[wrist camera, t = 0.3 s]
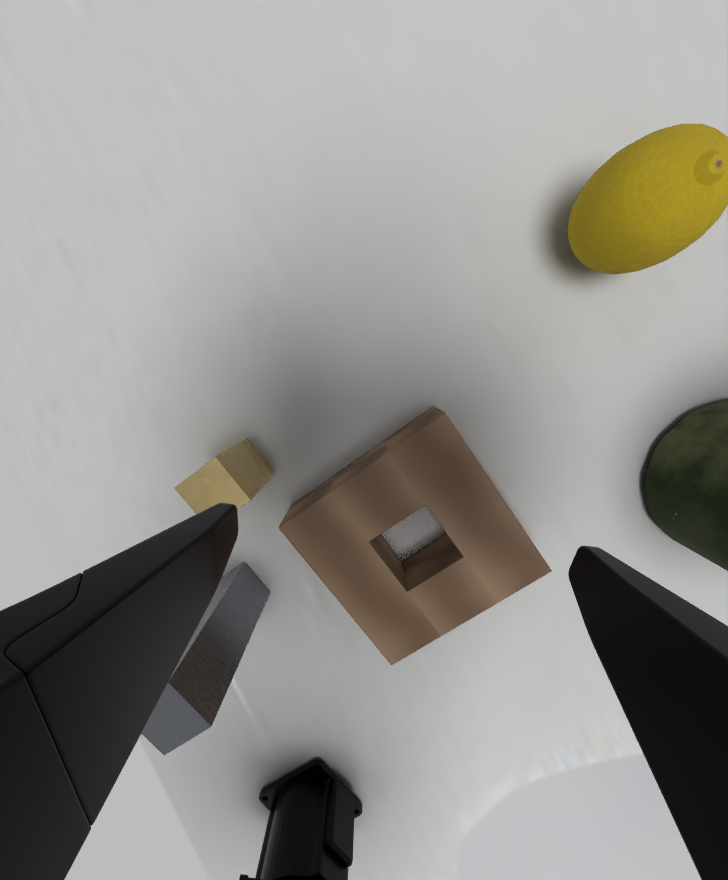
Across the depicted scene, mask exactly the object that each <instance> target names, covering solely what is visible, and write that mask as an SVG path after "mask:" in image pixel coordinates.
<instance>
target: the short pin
mask: <svg viewBox="0 0 728 880" xmlns="http://www.w3.org/2000/svg"><path fill="white" fill-rule="evenodd" d="M273 475H274V472H273V471H272V470H271V468H270V467H269V466H268V465H267V463H266V462H265V461H264V460H263V458H262V457H261V456H260V455H259V453H258V452H257V451H256V450H255V448H254V447H253V446H252V445H251V443H250V442H249V441H248V440H247V439H246V440H244V441H242V442H241V443H239V444H237V445H236V446H234V447H232V448H230V449H229V450H227V451H225V452H224V453H222V454H220V455H218V456H217V457H215V458H214V459H212V460H211V461H210V462H208V463H207V464H206V465H204V466H203V467H202V468H200V469H199V470H198V471H196V472H195V473H194V474H192V475H191V476H190V477H188V478H187V479H186V480H184V481H183V482H182V483H180V484H179V485H178V486H176V487H175V489H176V491H177V492H178V493H179V494H180V495H181V496H182V498H183V499H184V500H185V501H186V502H187V503H188V505H189V506H190V507H191V508H192V509H193V510H194V512H195V513H196V514H198V513H200V512H202V511H204V510H206V509H208V508H210V507H212V506H214V505H216V504H218V503H228V504H234V505H236V507H237V510H238V509H239V508H240V507H242V506H243V505H245V504H246V503H247V502H249V501H250V500H251V499H252V498H253V497H254V496H255V495H256V494H257V493H258V491H259V490H260V489H261V488H262V487H263V486H264V485H265V484H266V482H267V481H268V480H269V479H270V478H271V477H272V476H273Z"/></svg>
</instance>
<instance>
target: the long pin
mask: <svg viewBox="0 0 728 880" xmlns="http://www.w3.org/2000/svg"><path fill="white" fill-rule="evenodd" d="M269 594H270V591H269V589H268V588H267V587H266V586H265V585H264V584H263V582H262V581H261V580H260V579H259V578H258V577H257V576H256V574H255V573H254V572H253V571H252V570H251V569H250V567H249V566H248V565H247V564H246V563H245V562H244V563H242V564H241V565H239V566H238V567H236V568H235V569H233V570H232V571H231V572H229V573H228V574H226V575H225V576H223V577H222V578H221V580H220V582H219V585H218V587H217V590H216V592H215V594H214V596H213V598H212V600H211V602H210V604H209V606H208V608H207V610H206V611H205V613H204V615H203V617H202V619H201V621H200V623H199V625H198V627H197V628H196V630H195V632H194V634H193V636H192V638H191V640H190V642H189V644H188V646H187V647H186V649H185V651H184V653H183V655H182V657H181V659H180V661H179V663H178V664H177V666H176V668H175V670H174V672H173V674H172V676H171V678H170V680H169V682H168V683H167V685H166V687H165V689H164V691H163V693H162V695H161V697H160V699H159V700H158V702H157V704H156V706H155V708H154V710H153V712H152V714H151V716H150V718H149V719H148V721H147V723H146V725H145V727H144V729H143V731H142V733H141V734H142V735H144V736H145V737H146V738H147V739H148V740H149V741H150V742H151V743H152V744H153V745H154V746H155V747H156V748H157V749H158V750H159V751H160V752H161V753H162V754H163V755H165V754H167V753H169V752H170V751H172V750H174V749H175V748H177V747H178V746H180V745H182V744H183V743H185V742H187V741H188V740H190V739H192V738H193V737H195V736H197V735H198V734H200V733H201V732H203V731H205V730H206V729H208V728H210V727H211V726H212V724H213V721H214V719H215V717H216V715H217V712H218V710H219V708H220V705H221V703H222V701H223V699H224V696H225V694H226V692H227V690H228V687H229V685H230V683H231V680H232V678H233V676H234V674H235V671H236V669H237V667H238V664H239V662H240V660H241V658H242V655H243V653H244V651H245V648H246V646H247V644H248V642H249V639H250V637H251V635H252V632H253V630H254V628H255V626H256V623H257V621H258V619H259V617H260V614H261V612H262V610H263V607H264V605H265V603H266V601H267V598H268V596H269Z"/></svg>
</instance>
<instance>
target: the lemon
mask: <svg viewBox="0 0 728 880" xmlns="http://www.w3.org/2000/svg"><path fill="white" fill-rule="evenodd" d="M727 205H728V137H727V136H726V135H724V134H723V133H722V132H720V131H719V130H717V129H715V128H712V127H709V126H706V125H703V124H680V125H675V126H672V127H668V128H664V129H661V130H658V131H655V132H653V133H651V134H648V135H646V136H644V137H643V138H641V139H639V140H637V141H635V142H634V143H632V144H630V145H628V146H626V147H625V148H623V149H622V150H620V151H619V152H617V153H616V154H615V155H613V156H612V157H611V158H610V159H609V160H608V161H607V162H606V163H605V164H604V165H602V166H601V167H600V168H599V169H598V170H597V171H596V172H595V173H594V174H593V175H592V176H591V178H590V179H589V180H588V182H587V183H586V185H585V186H584V187H583V189H582V190H581V192H580V193H579V195H578V197H577V199H576V201H575V203H574V206H573V208H572V210H571V213H570V218H569V223H568V239H569V243H570V246H571V250H572V251H573V253H574V255H575V256H576V258H577V259H578V260H579V261H580V262H581V263H583V264H584V265H585V266H586V267H588V268H590V269H592V270H595V271H597V272H602V273H608V274H620V273H629V272H635V271H639V270H642V269H645V268H648V267H651V266H653V265H656V264H658V263H661V262H663V261H665V260H667V259H669V258H671V257H672V256H674V255H676V254H677V253H679V252H680V251H682V250H683V249H685V248H686V247H688V246H689V245H691V244H692V243H694V242H695V241H696V240H698V239H699V238H700V237H701V236H702V235H703V234H704V233H705V232H706V231H707V230H708V229H709V228H710V227H711V226H712V225H713V224H714V223H715V222H716V221H717V220H718V219H719V217H720V216H721V214H722V213H723V211H724V210H725V208H726V207H727Z"/></svg>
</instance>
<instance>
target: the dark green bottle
mask: <svg viewBox="0 0 728 880" xmlns="http://www.w3.org/2000/svg"><path fill="white" fill-rule="evenodd" d="M644 491H645V496H646V502H647V507H648V512H649V514H650V516H651V517H652V519H653V521H654V523H655V524H657V525H658V526H659V527H660V528H661V529H662V530H663V531H664V532H665V533H666V534H667V535H668V536H669V537H670V538H671V539H673V540H675V541H677V542H678V543H680V544H682V545H684V546H685V547H687V548H689V549H691V550H692V551H694V552H696V553H698V554H699V555H701V556H703V557H705V558H706V559H708V560H710V561H712V562H713V563H715V564H717V565H719V566H720V567H722V568H724V569H726V570H727V571H728V399H727V400H723V401H720V402H717V403H714V404H710V405H707V406H704V407H701V408H699V409H697V410H695V411H694V412H692V413H690V414H688V415H687V416H685V417H684V418H683V419H682V420H681V421H680V422H679V423H678V424H677V425H676V426H674V427H673V428H672V429H671V430H670V431H669V432H668V433H667V434H666V435H665V436H664V437H663V438H662V440H661V441H660V443H659V444H658V445H657V447H656V448H655V451H654V453H653V456H652V458H651V461H650V464H649V466H648V469H647V471H646V474H645V482H644Z"/></svg>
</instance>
